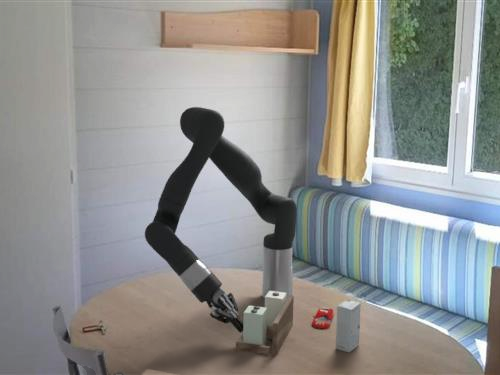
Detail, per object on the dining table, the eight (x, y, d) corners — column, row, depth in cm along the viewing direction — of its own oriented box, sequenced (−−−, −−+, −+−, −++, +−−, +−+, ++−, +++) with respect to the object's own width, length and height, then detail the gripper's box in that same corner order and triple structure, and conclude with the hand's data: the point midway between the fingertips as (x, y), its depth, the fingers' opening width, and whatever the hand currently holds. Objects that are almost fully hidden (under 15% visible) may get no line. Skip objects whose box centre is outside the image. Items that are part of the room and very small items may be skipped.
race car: (328, 336, 178) (328, 322, 177) (309, 333, 179) (309, 320, 179) (336, 317, 190) (336, 305, 189) (318, 315, 192) (318, 302, 191)
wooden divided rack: (221, 351, 167) (221, 315, 165) (242, 322, 185) (242, 290, 183) (276, 359, 163) (277, 323, 161) (292, 329, 181) (293, 296, 179)
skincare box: (349, 353, 167) (352, 310, 165) (334, 348, 170) (336, 305, 167) (359, 344, 172) (362, 302, 170) (344, 340, 175) (347, 298, 172)
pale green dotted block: (243, 348, 166) (243, 311, 164) (248, 340, 171) (248, 304, 169) (261, 350, 165) (262, 313, 163) (266, 342, 169) (267, 306, 167)
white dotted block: (264, 330, 177) (264, 295, 175) (268, 323, 181) (269, 289, 179) (281, 333, 175) (282, 297, 173) (285, 326, 180) (286, 291, 178)
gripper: (200, 280, 161) (246, 332, 160) (218, 264, 173) (260, 312, 173) (181, 297, 164) (226, 348, 163) (199, 280, 176) (241, 327, 175)
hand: (243, 329), depth 168 cm, fingers closed
